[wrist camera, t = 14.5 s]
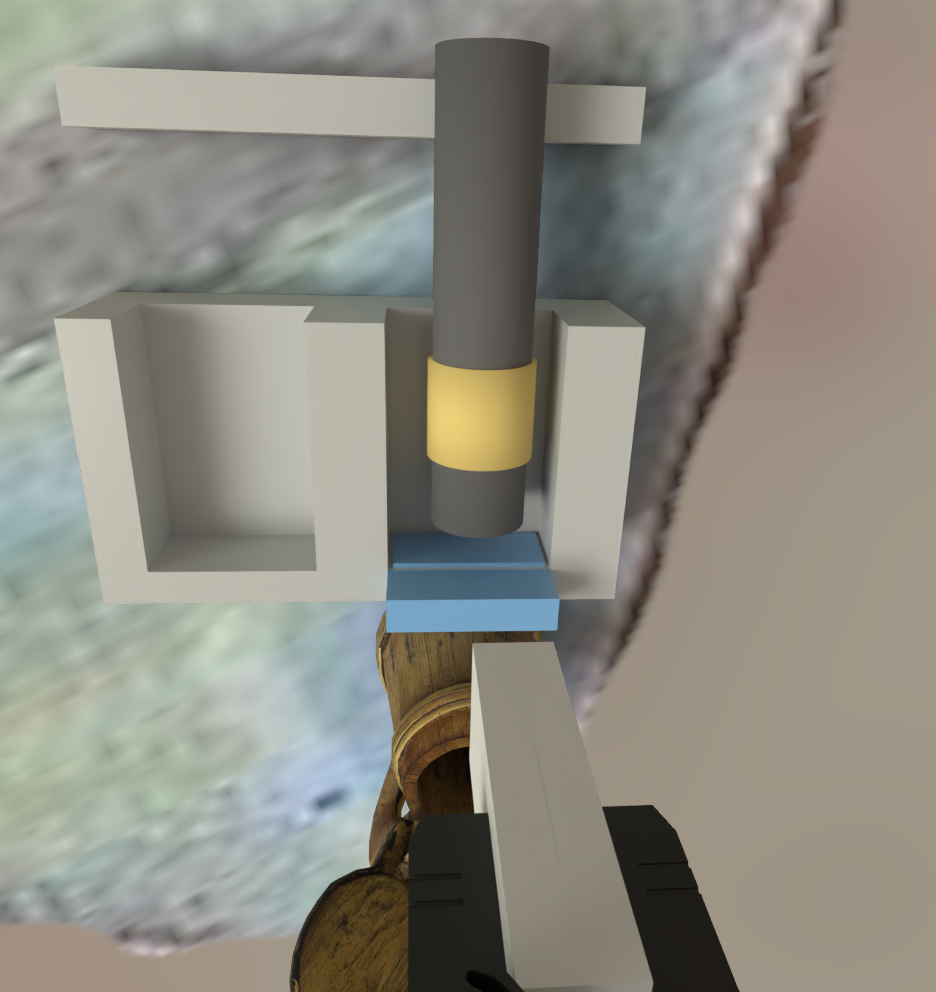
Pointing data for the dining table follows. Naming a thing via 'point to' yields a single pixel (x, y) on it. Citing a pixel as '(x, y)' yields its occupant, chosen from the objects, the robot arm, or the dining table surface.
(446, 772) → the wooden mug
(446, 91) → the rod
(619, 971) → the robot arm
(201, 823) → the dining table surface
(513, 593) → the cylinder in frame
